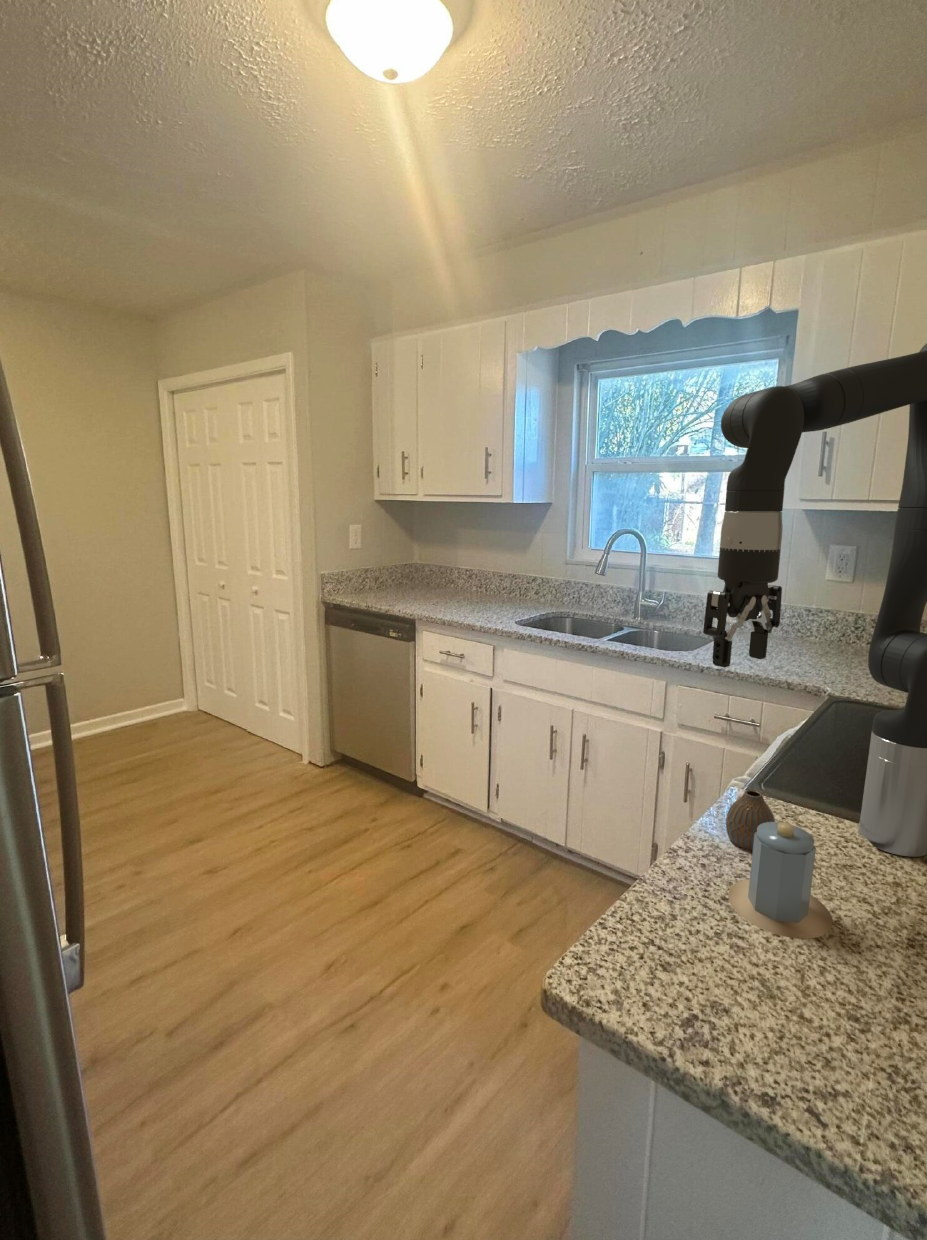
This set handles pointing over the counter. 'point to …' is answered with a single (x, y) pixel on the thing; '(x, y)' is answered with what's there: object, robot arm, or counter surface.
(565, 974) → the counter surface
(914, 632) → the robot arm
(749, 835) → the vase
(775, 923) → the trivet
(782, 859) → the octagonal knobbed canister
